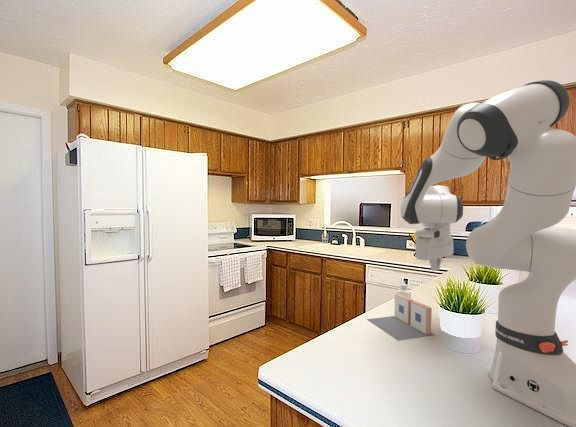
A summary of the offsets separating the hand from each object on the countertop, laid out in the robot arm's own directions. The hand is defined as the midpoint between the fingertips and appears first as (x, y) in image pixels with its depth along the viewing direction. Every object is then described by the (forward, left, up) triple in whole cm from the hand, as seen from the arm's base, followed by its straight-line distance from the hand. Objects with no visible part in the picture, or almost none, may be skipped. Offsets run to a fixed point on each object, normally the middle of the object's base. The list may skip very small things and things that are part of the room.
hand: (435, 270), depth 107 cm
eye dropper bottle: (+21, -3, -21) cm, 30 cm away
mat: (+5, +12, -21) cm, 24 cm away
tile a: (0, +6, -21) cm, 22 cm away
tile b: (+9, +6, -21) cm, 23 cm away
